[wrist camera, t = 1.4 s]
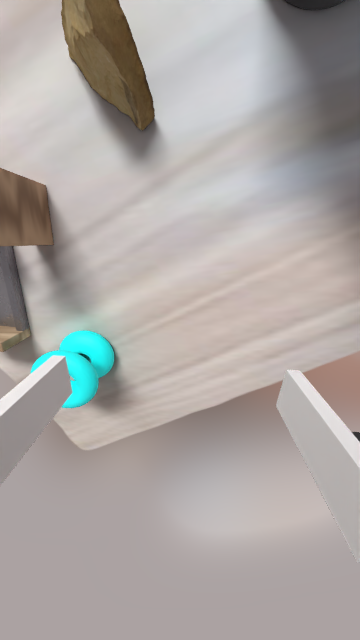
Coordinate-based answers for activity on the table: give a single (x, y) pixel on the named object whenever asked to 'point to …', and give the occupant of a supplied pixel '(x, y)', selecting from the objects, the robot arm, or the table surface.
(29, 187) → the door panel
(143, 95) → the rock
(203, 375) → the table surface
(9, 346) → the frame posts
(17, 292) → the track
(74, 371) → the donuts
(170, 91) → the table surface
